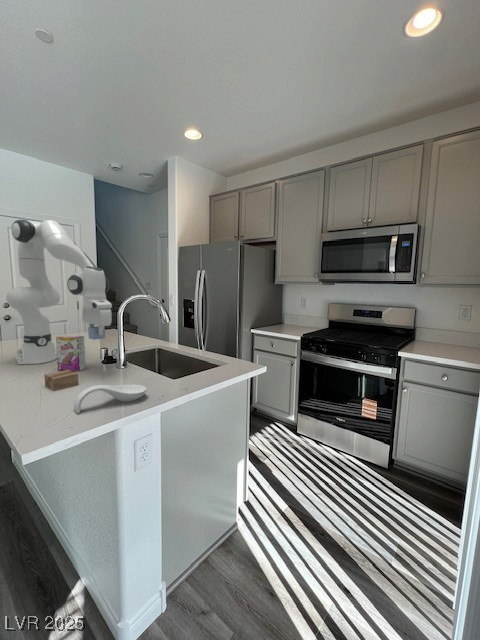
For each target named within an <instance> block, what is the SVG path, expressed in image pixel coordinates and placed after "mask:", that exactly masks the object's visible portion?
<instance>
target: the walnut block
mask: <svg viewBox="0 0 480 640" xmlns="http://www.w3.org/2000/svg"><path fill="white" fill-rule="evenodd" d="M44 386H45V387H46V388H48V389H50V390H51V391H53V392H56V391H60V390H64V389H67V388H71V387H77V386H79V373H77V372H76V371H70V370H64V371H63V370H58V371H54V372H51V373H50V372H49V373H45V374H44Z"/></svg>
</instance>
